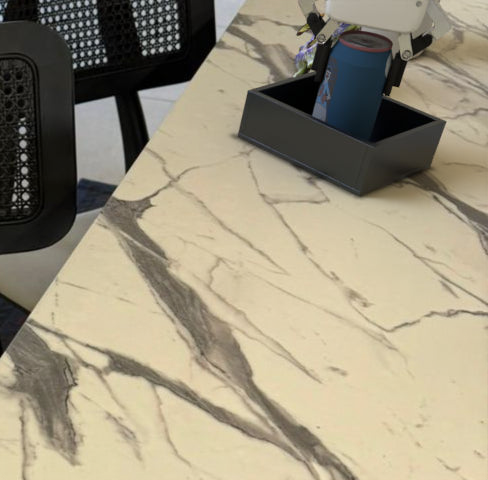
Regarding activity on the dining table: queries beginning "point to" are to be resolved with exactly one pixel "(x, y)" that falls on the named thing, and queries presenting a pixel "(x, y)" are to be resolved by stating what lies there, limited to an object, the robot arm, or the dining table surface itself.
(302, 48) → the passion flower
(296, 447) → the dining table surface
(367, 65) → the soda can
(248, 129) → the dark grey open box
